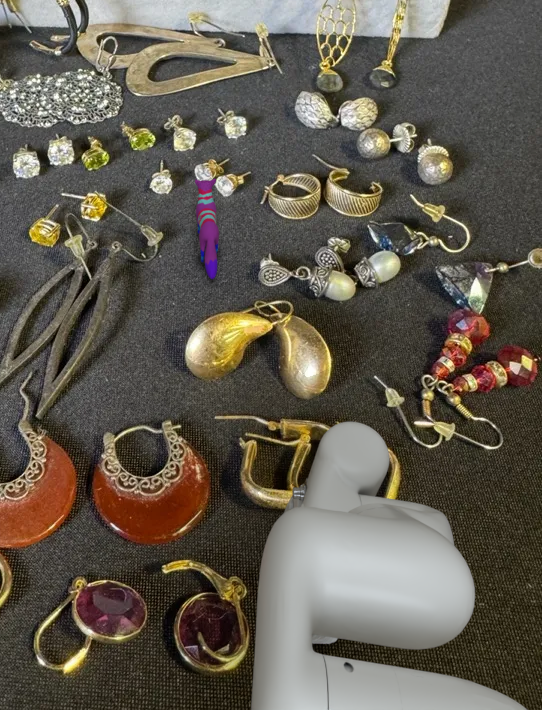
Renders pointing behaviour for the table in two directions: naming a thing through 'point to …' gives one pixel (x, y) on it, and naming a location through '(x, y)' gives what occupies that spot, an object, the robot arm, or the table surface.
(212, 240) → the purple striped elongated piece
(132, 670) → the table surface
